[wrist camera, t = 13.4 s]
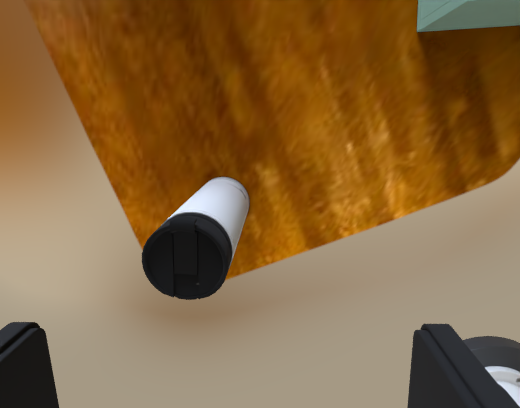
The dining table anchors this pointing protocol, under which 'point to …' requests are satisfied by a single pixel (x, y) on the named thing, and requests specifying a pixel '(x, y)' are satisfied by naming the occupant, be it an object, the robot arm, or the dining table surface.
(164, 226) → the travel mug
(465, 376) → the robot arm
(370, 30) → the dining table surface
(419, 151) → the dining table surface
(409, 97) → the dining table surface
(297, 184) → the dining table surface
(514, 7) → the mint green cubby
